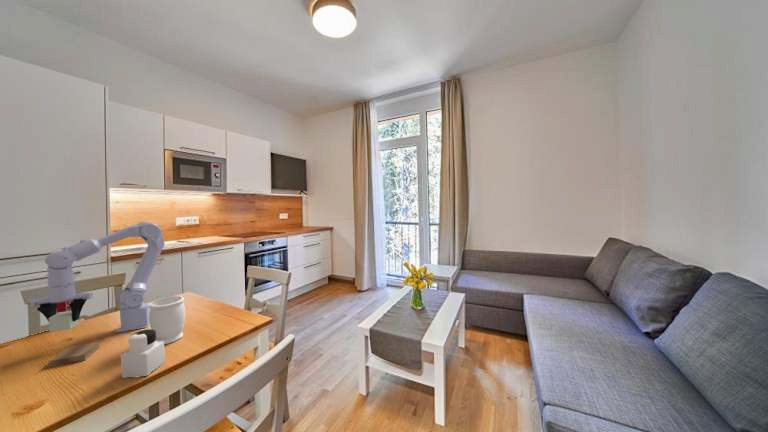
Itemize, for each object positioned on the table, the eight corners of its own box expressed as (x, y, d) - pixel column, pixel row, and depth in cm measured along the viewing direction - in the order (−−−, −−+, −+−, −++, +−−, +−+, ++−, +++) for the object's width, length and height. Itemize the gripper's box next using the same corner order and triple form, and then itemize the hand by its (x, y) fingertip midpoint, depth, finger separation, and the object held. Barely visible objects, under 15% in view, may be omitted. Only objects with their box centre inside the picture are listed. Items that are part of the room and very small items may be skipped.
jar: (189, 338, 96) (187, 300, 95) (152, 350, 89) (149, 309, 88) (183, 329, 103) (181, 293, 103) (149, 339, 96) (147, 300, 95)
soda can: (63, 328, 104) (60, 300, 104) (54, 327, 105) (51, 299, 105) (80, 322, 109) (78, 295, 109) (71, 321, 110) (69, 295, 110)
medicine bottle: (142, 363, 82) (139, 327, 81) (165, 361, 82) (163, 326, 82) (121, 378, 75) (118, 339, 74) (147, 377, 75) (144, 338, 75)
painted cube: (79, 322, 94) (78, 309, 94) (70, 329, 90) (69, 315, 89) (59, 325, 92) (58, 312, 92) (49, 332, 87) (48, 318, 87)
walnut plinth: (99, 347, 91) (98, 342, 91) (85, 360, 83) (84, 354, 83) (67, 353, 87) (66, 348, 87) (49, 367, 80) (48, 361, 80)
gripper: (96, 278, 97) (99, 313, 98) (39, 284, 90) (43, 321, 91) (85, 284, 90) (88, 320, 91) (23, 290, 84) (27, 330, 85)
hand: (64, 321), depth 91 cm, fingers closed on painted cube, 5 cm apart
